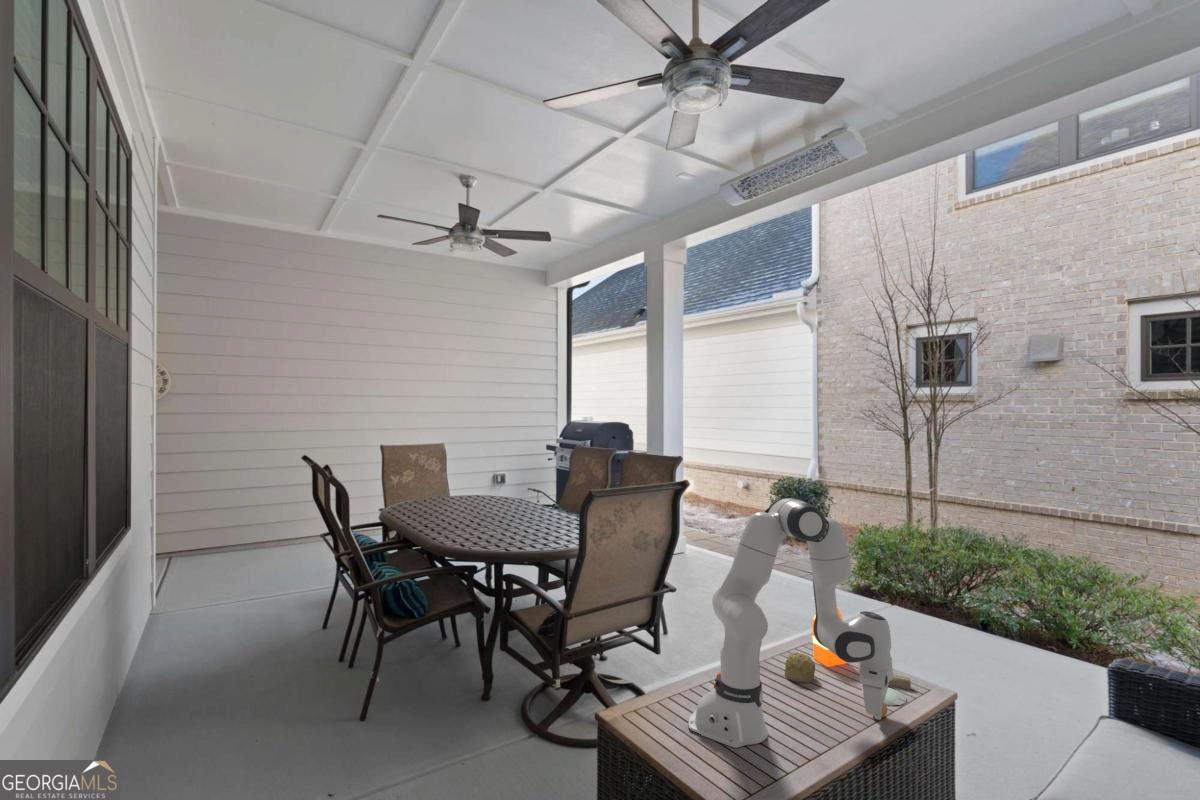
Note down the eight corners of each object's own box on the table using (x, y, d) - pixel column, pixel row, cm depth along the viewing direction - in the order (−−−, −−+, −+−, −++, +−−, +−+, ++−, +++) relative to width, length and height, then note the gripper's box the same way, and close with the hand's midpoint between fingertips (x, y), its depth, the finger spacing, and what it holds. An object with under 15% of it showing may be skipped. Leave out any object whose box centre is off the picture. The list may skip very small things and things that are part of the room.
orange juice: (813, 658, 203) (811, 604, 204) (832, 655, 206) (830, 602, 207) (827, 666, 196) (825, 611, 197) (847, 663, 198) (844, 608, 200)
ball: (868, 718, 160) (868, 701, 161) (869, 710, 165) (868, 694, 165) (887, 722, 158) (886, 705, 158) (887, 714, 162) (887, 697, 163)
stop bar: (910, 689, 177) (910, 680, 178) (863, 679, 185) (863, 670, 185) (910, 687, 179) (910, 678, 179) (864, 677, 187) (864, 668, 187)
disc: (860, 700, 171) (860, 699, 171) (862, 683, 182) (862, 682, 183) (907, 709, 165) (907, 708, 165) (906, 691, 176) (906, 690, 176)
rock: (800, 680, 193) (785, 652, 197) (825, 672, 186) (809, 644, 190) (788, 692, 186) (772, 663, 190) (814, 684, 180) (798, 655, 183)
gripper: (869, 654, 169) (871, 699, 168) (858, 679, 152) (861, 730, 151) (891, 658, 165) (894, 704, 164) (883, 685, 148) (886, 736, 147)
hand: (878, 717), depth 158 cm, fingers closed
